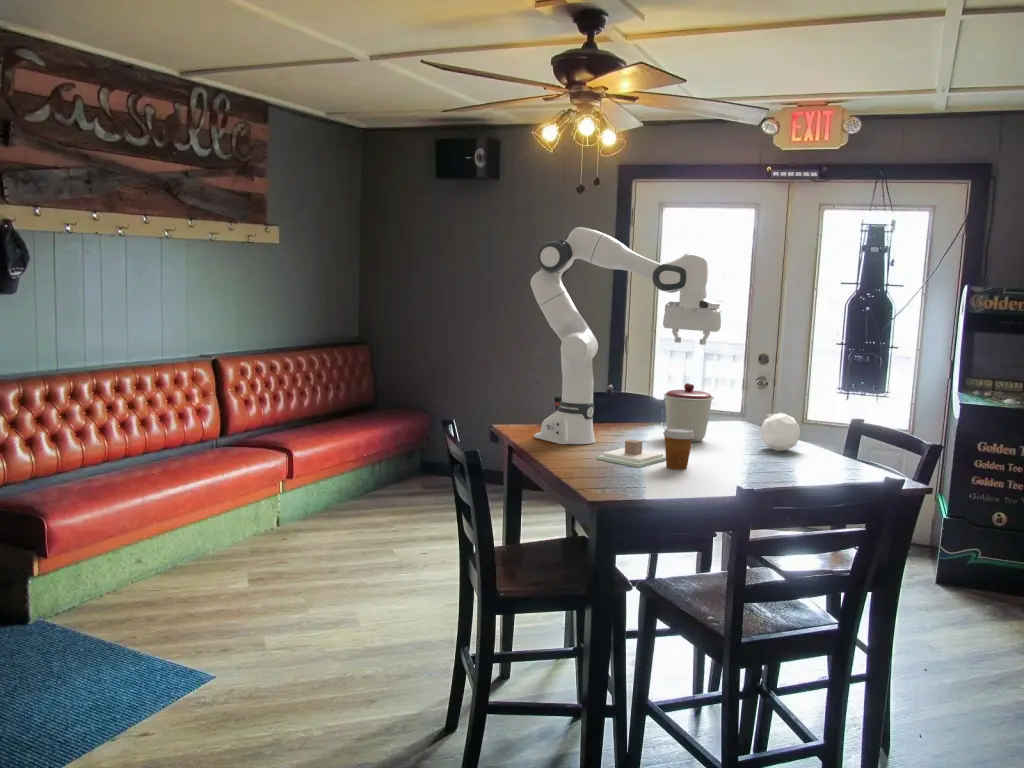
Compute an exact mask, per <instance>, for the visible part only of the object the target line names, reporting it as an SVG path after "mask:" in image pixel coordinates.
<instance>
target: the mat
mask: <svg viewBox="0 0 1024 768" xmlns="http://www.w3.org/2000/svg"><path fill="white" fill-rule="evenodd" d="M596 460H600V461H604V462H610V463H614V464H620V465H625V466H629V467H635V468H642V467H643V468H644V467H647V466H650V465H653V464H657V463H661V461H662V462H666V455H663V457H661V458H657V459H653V460H649V461H645V462H642V463H638V462H633V461H628V460H622V459H617V458H612V457H607V456H603V454H600V455H597V456H596Z"/></svg>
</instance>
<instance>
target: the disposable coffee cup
mask: <svg viewBox="0 0 1024 768" xmlns="http://www.w3.org/2000/svg"><path fill="white" fill-rule="evenodd" d="M662 434H663V437H664V448H665V456H666V460H665V464H666V468H667V469H670V470H675V469H678V470H677V471H682V470H681V469H684V470H686V468H687V469H688V465H689V459H690V453H691V449H692V444H693V442H692V438H693V436H694V434H693V430H690V429H686V428H667V427H666V428H664V431H663V433H662Z"/></svg>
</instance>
